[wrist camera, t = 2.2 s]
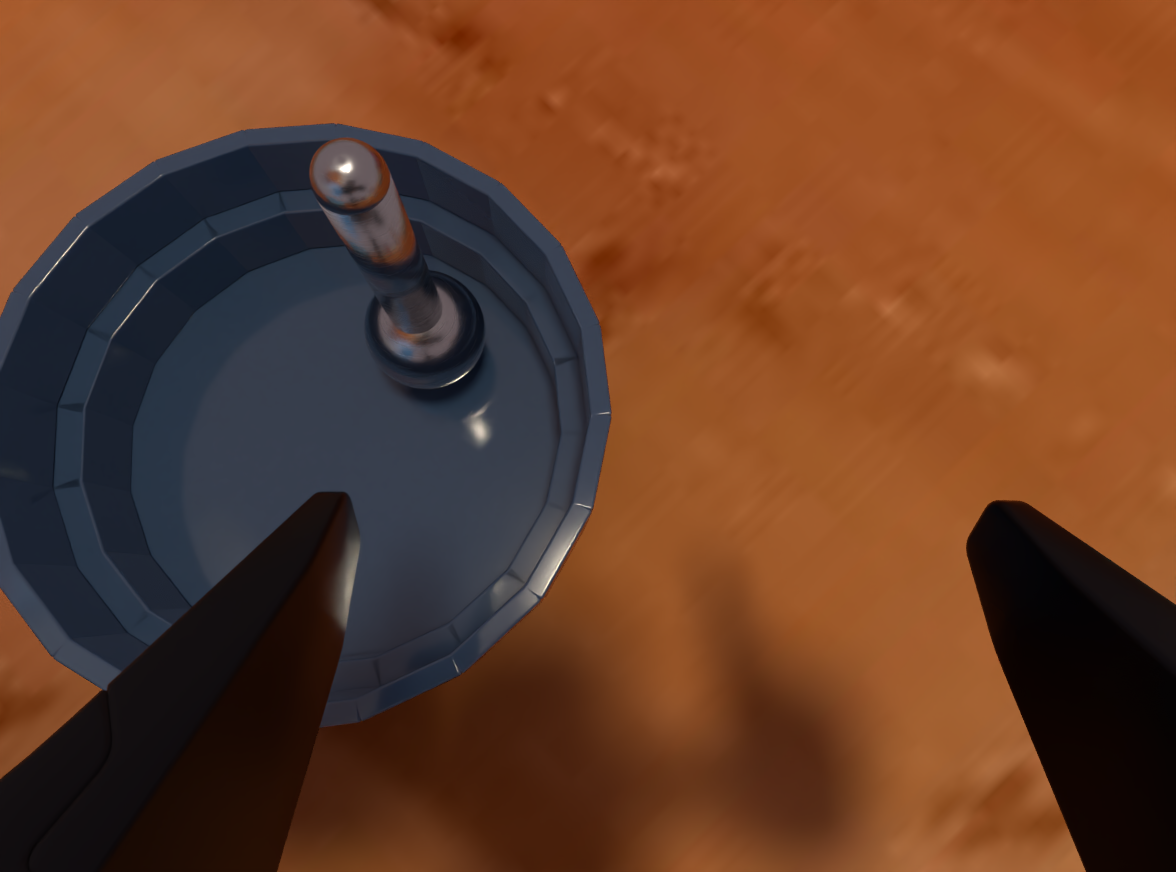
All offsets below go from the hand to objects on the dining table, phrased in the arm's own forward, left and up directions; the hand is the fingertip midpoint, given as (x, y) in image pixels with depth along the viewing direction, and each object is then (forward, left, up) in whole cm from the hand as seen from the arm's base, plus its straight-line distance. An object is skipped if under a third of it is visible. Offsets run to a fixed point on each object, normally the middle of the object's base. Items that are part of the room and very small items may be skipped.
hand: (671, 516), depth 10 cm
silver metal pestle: (0, +9, -13) cm, 16 cm away
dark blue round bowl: (-4, +9, -14) cm, 17 cm away
